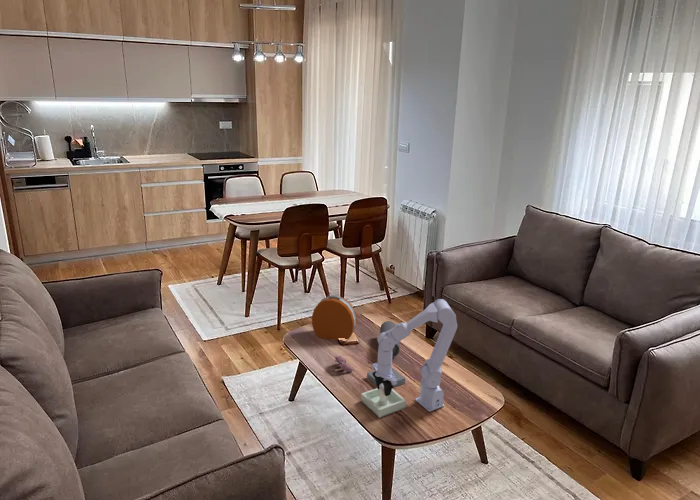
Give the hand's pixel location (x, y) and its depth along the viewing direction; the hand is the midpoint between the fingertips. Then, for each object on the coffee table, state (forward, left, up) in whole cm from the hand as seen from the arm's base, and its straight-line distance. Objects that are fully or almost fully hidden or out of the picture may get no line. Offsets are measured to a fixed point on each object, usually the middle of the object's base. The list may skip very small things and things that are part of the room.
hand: (383, 391), depth 202 cm
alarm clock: (+62, -12, -6) cm, 63 cm away
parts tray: (0, 0, -6) cm, 6 cm away
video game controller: (+32, 0, -6) cm, 32 cm away
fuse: (0, 0, -5) cm, 5 cm away
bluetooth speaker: (+37, -29, -6) cm, 47 cm away
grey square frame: (+14, -11, -6) cm, 19 cm away
